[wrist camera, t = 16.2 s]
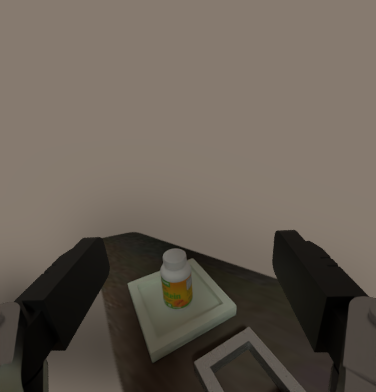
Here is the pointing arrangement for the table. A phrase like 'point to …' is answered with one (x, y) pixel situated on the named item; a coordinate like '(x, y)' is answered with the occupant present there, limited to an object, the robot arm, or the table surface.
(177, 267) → the supplement bottle
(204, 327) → the sage tray
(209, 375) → the gray square frame
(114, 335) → the table surface
